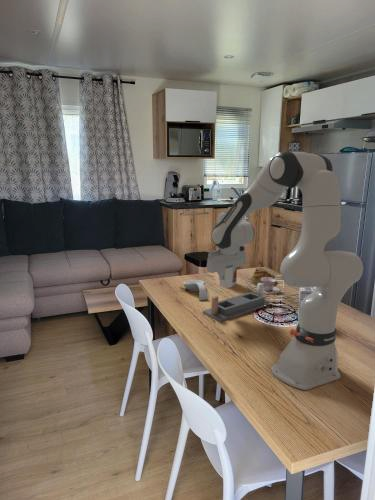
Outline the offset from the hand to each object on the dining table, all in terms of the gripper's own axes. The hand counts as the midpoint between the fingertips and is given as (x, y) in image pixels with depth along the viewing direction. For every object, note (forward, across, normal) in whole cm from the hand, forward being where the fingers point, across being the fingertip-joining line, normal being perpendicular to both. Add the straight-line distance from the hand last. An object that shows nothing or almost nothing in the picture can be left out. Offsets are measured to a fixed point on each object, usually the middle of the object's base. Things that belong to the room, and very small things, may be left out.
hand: (226, 278), depth 162 cm
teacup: (+17, +38, +8) cm, 42 cm away
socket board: (+16, +8, 0) cm, 18 cm away
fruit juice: (+17, +28, +29) cm, 43 cm away
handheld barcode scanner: (+17, +6, +29) cm, 34 cm away
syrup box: (+16, +21, -27) cm, 38 cm away
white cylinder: (+4, 0, 0) cm, 4 cm away
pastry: (+17, +46, +20) cm, 53 cm away
